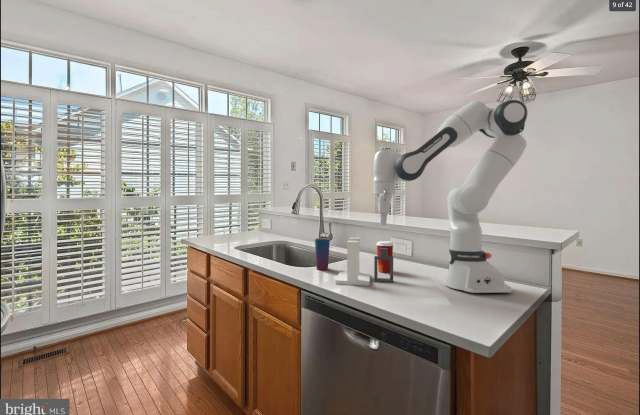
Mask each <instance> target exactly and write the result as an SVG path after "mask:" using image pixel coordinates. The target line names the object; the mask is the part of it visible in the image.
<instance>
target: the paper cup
mask: <svg viewBox="0 0 640 415" xmlns="http://www.w3.org/2000/svg"><path fill="white" fill-rule="evenodd" d="M380 248H388V256H393V252H394V251H393V250H394V242H393V241H387V240H386V241H385V240H384V241H383V240H380V241H377V242H376V249H377V250H376V253H377V255H376V256H380ZM377 272H379V273H380V274H381V273H382V274H390V260H378V259H377Z"/></svg>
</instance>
